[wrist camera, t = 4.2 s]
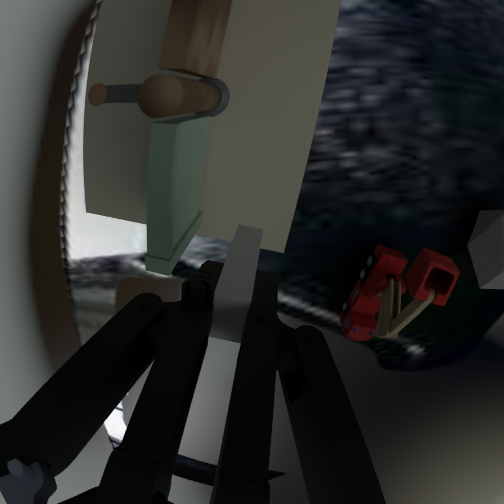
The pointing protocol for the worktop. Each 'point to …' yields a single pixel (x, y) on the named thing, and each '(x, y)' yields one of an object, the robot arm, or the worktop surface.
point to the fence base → (188, 60)
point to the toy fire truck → (395, 292)
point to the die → (488, 249)
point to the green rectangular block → (174, 188)
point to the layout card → (212, 112)
